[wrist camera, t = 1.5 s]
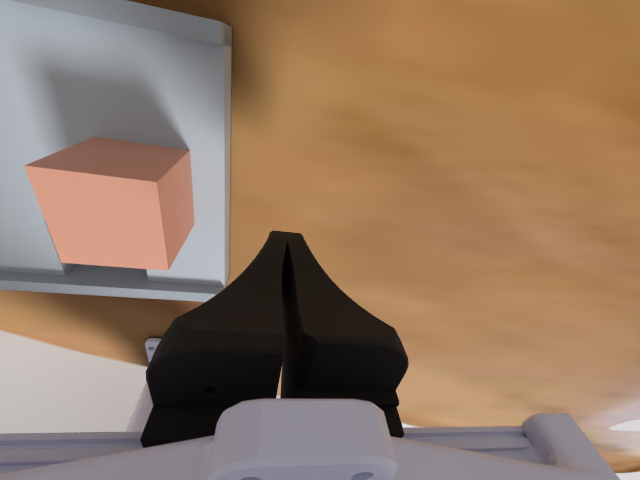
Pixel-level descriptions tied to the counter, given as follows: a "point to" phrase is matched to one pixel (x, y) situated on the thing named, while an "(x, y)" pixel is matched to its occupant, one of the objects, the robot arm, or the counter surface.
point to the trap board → (113, 131)
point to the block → (116, 202)
